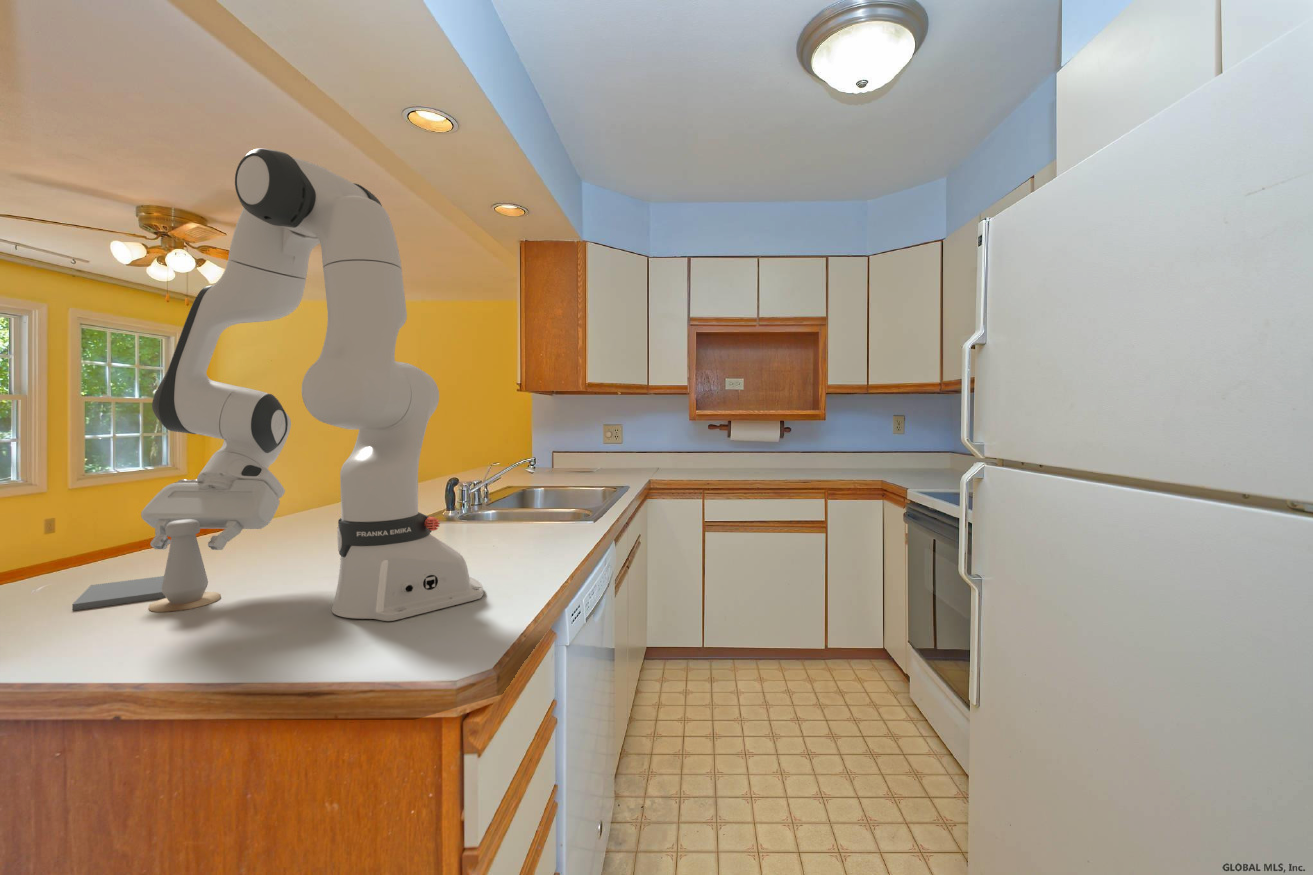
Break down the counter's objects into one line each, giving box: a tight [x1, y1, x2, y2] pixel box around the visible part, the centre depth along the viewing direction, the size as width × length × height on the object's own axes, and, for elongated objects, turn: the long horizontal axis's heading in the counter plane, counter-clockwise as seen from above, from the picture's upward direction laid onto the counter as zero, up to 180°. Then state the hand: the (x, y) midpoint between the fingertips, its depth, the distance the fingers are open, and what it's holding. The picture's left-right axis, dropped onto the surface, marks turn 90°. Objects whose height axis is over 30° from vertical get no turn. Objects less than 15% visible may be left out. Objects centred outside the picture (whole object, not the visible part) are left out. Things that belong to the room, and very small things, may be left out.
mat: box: [71, 575, 166, 611], centre depth 97 cm, size 12×12×1 cm
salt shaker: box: [161, 519, 209, 604], centre depth 92 cm, size 6×6×13 cm
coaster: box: [148, 591, 222, 613], centre depth 93 cm, size 9×9×1 cm
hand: (185, 547), depth 93 cm, fingers open, 8 cm apart
